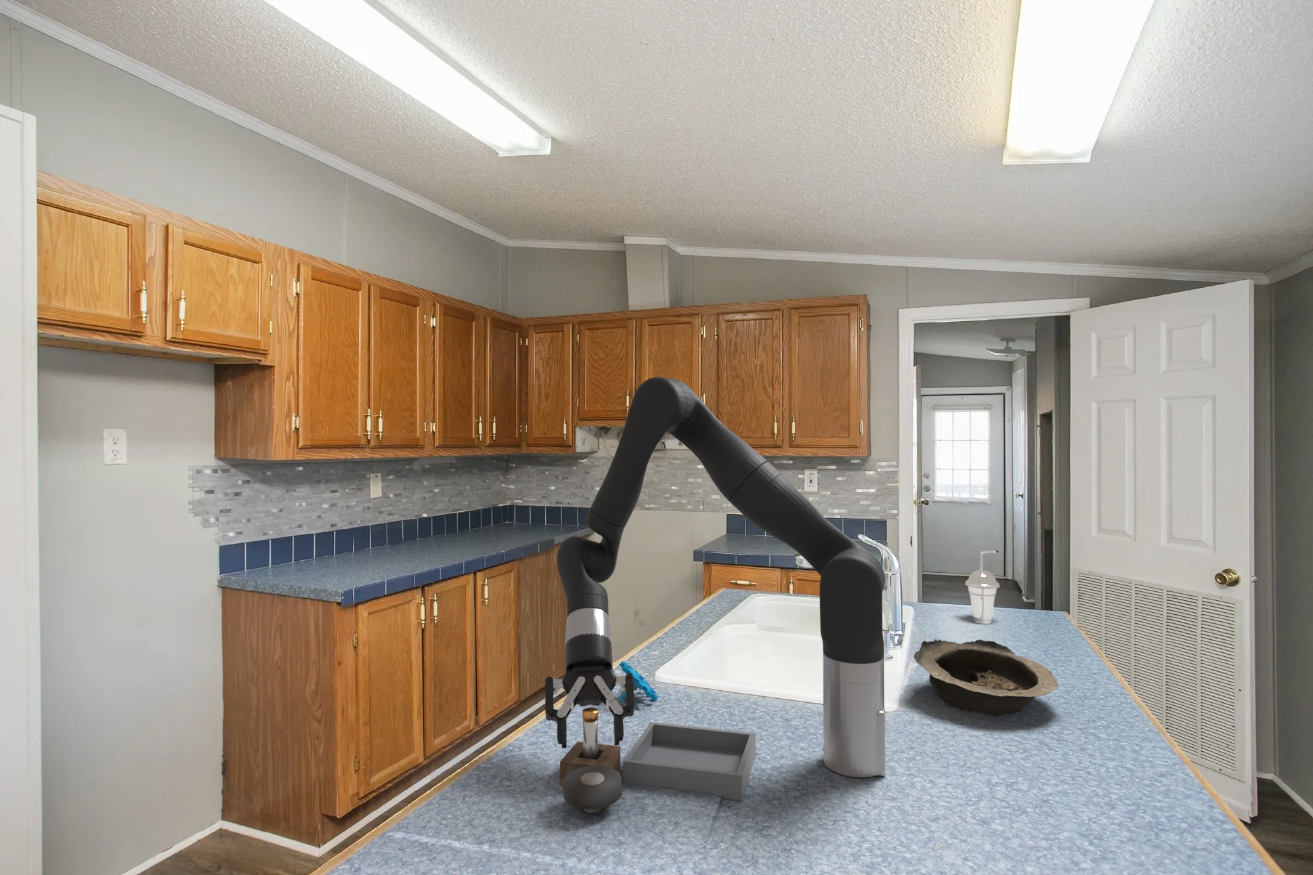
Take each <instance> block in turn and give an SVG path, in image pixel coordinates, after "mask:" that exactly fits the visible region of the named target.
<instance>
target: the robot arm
mask: <svg viewBox="0 0 1313 875" xmlns="http://www.w3.org/2000/svg"><path fill="white" fill-rule="evenodd" d="M666 433H668V434H670V435H671V436H673V437H674V438H675V439H677V440H678V441H679V442H680V443H681V444H683V445H684V446H685V447H686V448H687V449H688V450H690V451H691V452H692V453H693V454H694V456H695V457H697V459H698V460H699V461H700V463H701V464H702V465H703V468H704V469H705V471H706V472H707V474H708V476H709V477H710V479H711V480H712V482H713V483H714V486H715V487H716V488H717V490H719V492H720V493H721V494H722V495H723V496H724V498H725V499H726V500H727V501H728V502H729V503H730V504H732V506H733V507H734V508H735V509H737V511H739V512H740V514H742V515H743V516H744V517H745V518H746V519H748V521H750V522H751V523H752V524H754V525H755V526H756V527H758V528H759V529H761V530H762V531H764V532H766V533H767V534H768V535H770V536H772V537H773V538H776V539H777V540H779V541H780V542H782V543H784V544H786V545H787V546H789V547H790V548H792V549H793V550H794V551H796V552H797V553H798V554H799V555H800V556H801V557H802V558H803V559H804V560H805V561H806V562H807V563H808V564H809V565H810V566H811V567H812V568H813V569H814V570H815V571H816V572H817V574H818V575H819V576H820V579H819V624H820V625H819V628H820V630H819V631H820V637H821V640H822V641H821V642H822V714H823V715H822V719H823V720H822V722H823V723H822V724H823V725H822V726H823V730H822V734H823V735H822V736H823V737H822V738H823V744H822V751H823V764H824V765H825V767H827V769H829V770H831V771H832V772H834V773H836V774H839V775H842V776H845V777H852V778H871V777H875V776H882V777H885V776H886V710H885V641H884V631H883V592H884V589H885V586H886V585H885V584H886V575H885V571H884V568H883V565H882V564H881V563H880V561H879V560H878V559H877V557H876V556H875V555H873V553H871V552H870V551H868V550H867V549H866V548H864V547H863V546H861V545H860V544H859V543H857V542H856V541H855V540H853V539H852V538H850V536H848V535H847V534H845V533H844V532H843V531H841V530H840V529H839V528H838V527H836V526H835V525H834V524H832V523H831V522H829V520H828V519H826V517H825V516H824V515H822V513H820V511H818V509H817V508H816V507H815V506H814V504H812V503H811V502H810V501H809V500H808V498H806V496H805V495H804V494H802V492H801V491H799V490H798V489H797V487H796V486H795V485H794V484H793V483H791V481H789V479H787V478H786V477H785V475H783V473H781V472H780V471H779V470H778V469H777V468H775V466H773V465H772V464H771V463H770V462H769V461H768V460H767V459H766V458H765V457H764V456H762V455H761V454H760V453H759V452H758V451H756V450H755V449H754V448H753V447H751V446H750V445H749V444H748V443H747V442H746V441H744V440H743V439H742V438H741V437H739V436H738V435H737V434H735V433H734V431H732V430H731V429H729V428H728V427H727V426H725V424H724V423H722V422H721V421H720V420H719V419H718V418H717V417H716V416H715V414H714V413H713V412H712V411H711V410H710V409H709V408H708V407H707V406H706V404H705V403H704V401H702V399H701V398H699V396H698V395H697V394H696V393H695V391H694V390H693V389H692V388H691V387H690V386H688V385H687V384H686V383H685V382H684V381H682V380H680V379H676V378H672V377H665V376H655V377H651V378H648V379H646V380H644V381H643V382H642V383H641V384H640V385H638V387H637V389H636V391H635V392H634V395H633V398H632V401H631V404H630V407H629V410H628V413H627V416H626V420H625V423H624V428H623V430H622V433H621V436H620V438H619V443H618V445H617V447H616V451H615V453H614V456H613V458H612V461H611V462H610V466H609V468H608V471H607V473H606V475H605V477H604V479H603V482H602V483H601V486H600V488H599V490H597V491H598V492H597V494H596V495H595V498H594V499H593V502H592V504H591V505H590V508H589V510H588V512H587V514H586V517H585V523H586V525H587V527H588V529H590V530H591V531H593V533H595V534H597V535H598V536H600V537H601V540H600V542H598V541H595V540H591V539H587V538H584V537H581V536H576V535H572V536H568V537H566V539H564V540H563V541H562V542H561V544H560V545H559V548H558V550H557V554H556V565H557V567H556V568H557V571H558V575H559V577H560V581H561V584H562V588H563V590H564V594H565V596H566V619H567V620H566V626H565V641H564V644H565V645H564V646H565V647H564V648H565V656H564V657H565V665H564V666H565V668H564V669H565V673H564V676H563V677H562V678H558V679H557V678H556V679H555V678H553V677H552V676H547V677H546V678H545V680H544V682H545V683H544V692H545V693H544V695H545V696H544V697H545V698H544V699H545V700H544V713H545V720H546V721H549V722H550V721H552V722H555V723H556V724H557V725H556V740H557V744H558V745H561V749H567V747H568V745H567V743H568V742H567V736H568V735H567V733H568V732H567V730H568V728H567V727H568V726H567V725H568V724H567V719H569V716H570V715H571V714H572V713H573V711H574V710H575V708H576V707H577V706H579V707H587V706H597V707H598V706H601V705H603V706H604V707H605V709H606V711H608V712H609V713H610V714H611V716H612V717H613V722H612V723H613V740H614V746H620V742H622V741H623V740H624V736H625V733H624V732H625V730H624V719H626V718H627V717H629V718H630V717H632V716H634V714H635V692H634V691H635V690H634V684H633V675H632V674H631V673H627V674H626V673H625V675H621V676H620V675H616V674H615V673H614V668H613V648H612V643H613V639H612V629H611V623H610V615H609V597H608V596H609V595H608V591H607V589H606V588H605V587H604V586H603V585H602V584H601V583H604V582H605V581H608V580H609V579H610V577H612V575H613V574H614V572H615V569H616V568H617V567H616V565H617V561H618V556H619V550H620V544H621V540H622V536H623V533H624V530H625V528H626V526H627V524H628V522H629V520H630V517H631V516H632V514H633V512H634V510H635V508H636V505H637V504H638V501H639V498H640V496H641V492H642V487H643V484H644V480H645V476H646V475H645V474H646V471H647V467H648V464H649V463H650V460H651V457H652V455H653V453H654V451H655V450H656V448H657V445H658V444H659V443H660V441H661V440H662V439H663V437H664V436H665V434H666ZM616 685H618V686H619V689H620V691H622V692H623V691H625V700H624V701H625V705H622V706H621V705H620V704H619V702H618V701H617V698H616V697H615V695H614V694H613V692H612V691H613V690H614V688H615V687H616ZM561 688H563V690H564V691H565V692H566V693H567V695H566V697H565V698H564V701H563V703H562V704H561V706H560V708H559V709H556V708H555V707H554V705H555V703H554V695H557V694H558V693H559V692H560V691H559V690H560V689H561Z"/></svg>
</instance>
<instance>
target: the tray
mask: <svg viewBox="0 0 1313 875" xmlns="http://www.w3.org/2000/svg"><path fill="white" fill-rule="evenodd" d="M756 735H757V734H756V732H748V731H739V730H728V729H719V728H709V727H703V726H702V727H699V726H692V725H690V726H689V725H682V724H681V725H680V724H673V723H662V722H651V721H650V722H649V723H648V725H647V726H646V728H645V729H644V730H643V732H642V733H641V735H640V736H639V738H638V739H637V740H636V742H635V743H634V745H633V747H632V748H631V749H630V751H629V752H628V754H627V755H626V756H625V758H624V759H623V761H622V766H623V768H622V769H623V770H622V772H623V773H622V775H623V778H622V780H623V783H624V784H625V783H626V784H632V785H640V786H641V785H642V786H647V787H649V786H650V787H657V788H662V789H663V788H664V789H672V790H680V791H687V792H695V793H700V794H701V793H702V794H710V795H716V796H717V795H719V796H721V799H725V800H732V801H740V802H741V801H743V799H744V798H743V797H744V795H745V791H746V788H747V785H748V782H749V778H750V775H751V772H752V770H753V765H754V763H755V758H756V755H757V753H756V752H757V747H756V745H757V744H756V743H757V740H756V739H757V738H756Z"/></svg>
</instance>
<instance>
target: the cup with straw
mask: <svg viewBox="0 0 1313 875" xmlns="http://www.w3.org/2000/svg"><path fill="white" fill-rule="evenodd" d="M994 553H995V554H998V553H999V550H998V549H994V550H993V549H992V550H991V549H989V550H986V549H985V550H981V551H980V554H979V559H980V560H979V565H980V566H979V568H980V569H977V570H975V571H973V572H971V573H970V575H969V577H968V579H966V580H965V586H967V587H968V588H967V589H968V594H969V598H970V605H971V615H972V618H973V619H972V621H973V622H974V623H975V624H976V623H977V624H984V625H986V624H987V625H988V624H992V619H993V614H994V605H995V597H996V595H997V589H999V588H1000V587H1001V586H1000V583H999V582H998V581H997V579H996V576H994V574H993V573H992V572H990V571H988V570H985V569H984V554H994Z"/></svg>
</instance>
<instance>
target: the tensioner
mask: <svg viewBox="0 0 1313 875" xmlns="http://www.w3.org/2000/svg"><path fill="white" fill-rule="evenodd" d="M620 771H621V745H613V744H612V745H611V744H605V743H604V744H603V743H598V759H597V760H596V759H587V758H583V741H576V742H575V744H574V745H573V746H572V747H571V748H570V749H569V751H568V752H567V753H566V754H565V755H564V756H563V757H562V758H561V760H560V761H559V785H560V787H561V786H562V787H563V788H562V789H563V790H562V791H563V799H564V801H565V802H566V803H567V804H568V805H570V806H571V807H574V808H577V809H583V810H584V812H586V813H588V814H596V813H599V812H601V810H602V809H603V808H605V807H609V806H612V805H613V804H615V803H616V802H618V801H619V800H620V799H621V798H622V793H623V792H622V791H623V790H622V789H623V787H622V785H623V784H622V780H623V778H622V774H621V773H620Z"/></svg>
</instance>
